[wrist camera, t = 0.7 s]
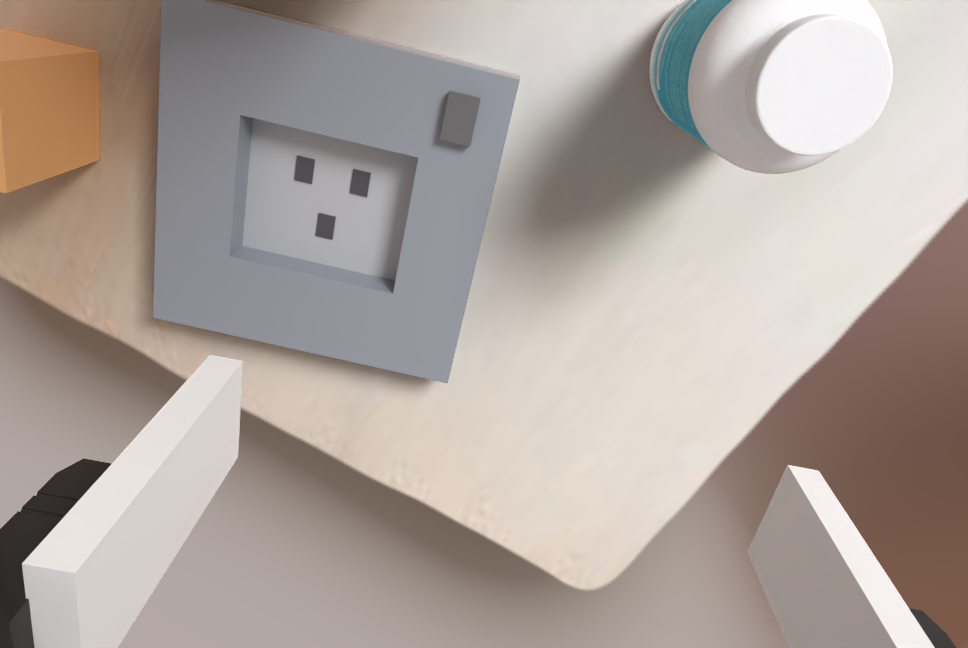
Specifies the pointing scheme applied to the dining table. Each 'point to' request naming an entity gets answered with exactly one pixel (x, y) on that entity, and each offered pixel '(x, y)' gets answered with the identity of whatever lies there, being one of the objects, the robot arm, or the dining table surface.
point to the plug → (46, 109)
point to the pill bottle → (772, 77)
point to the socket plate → (321, 186)
